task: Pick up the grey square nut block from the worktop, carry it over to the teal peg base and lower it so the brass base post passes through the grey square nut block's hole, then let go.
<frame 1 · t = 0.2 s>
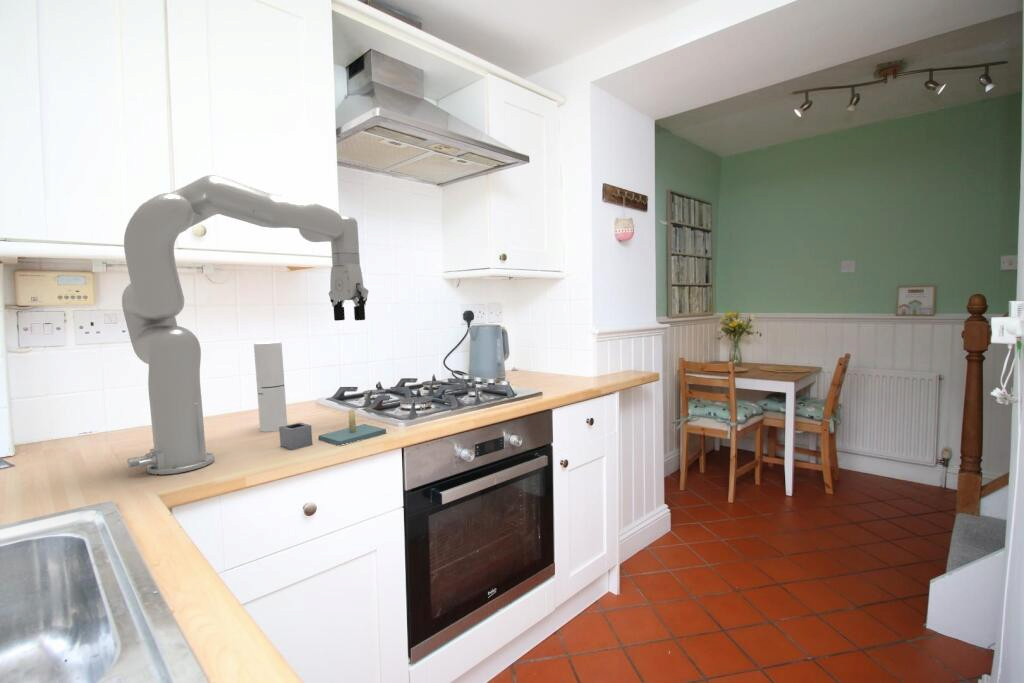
hand: (349, 320, 142), 31 cm above the countertop, tool pointing down, fingers open, 9 cm apart
grey square nut block: (296, 445, 123), on the countertop
grey piece: (274, 429, 142), on the countertop
teal peg base: (353, 436, 130), on the countertop
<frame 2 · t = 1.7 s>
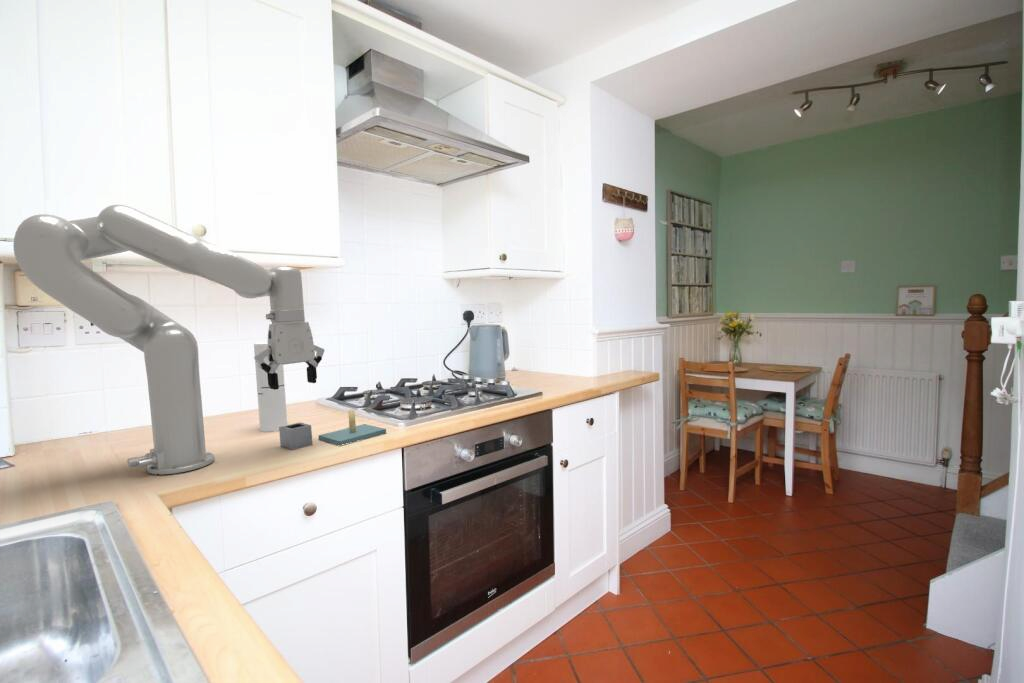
hand: (293, 385, 122), 15 cm above the countertop, tool pointing down, fingers open, 9 cm apart
nothing on the countertop moved.
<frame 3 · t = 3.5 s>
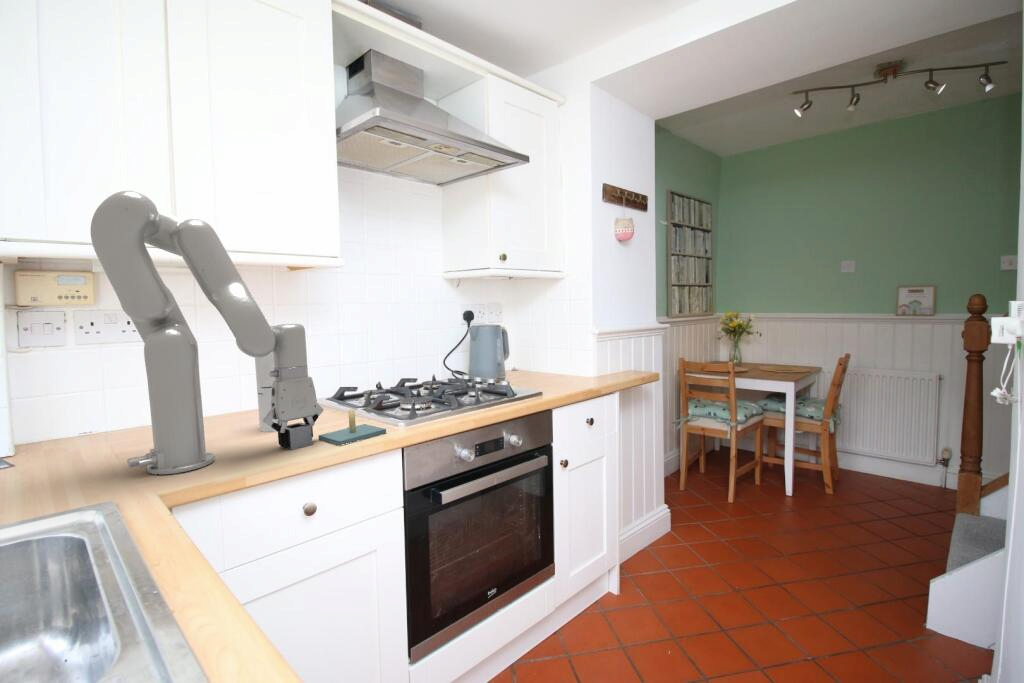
hand: (296, 443, 123), 1 cm above the countertop, tool pointing down, fingers closed on grey square nut block, 5 cm apart
grey square nut block: (296, 445, 123), on the countertop, touching gripper
everything else where it was.
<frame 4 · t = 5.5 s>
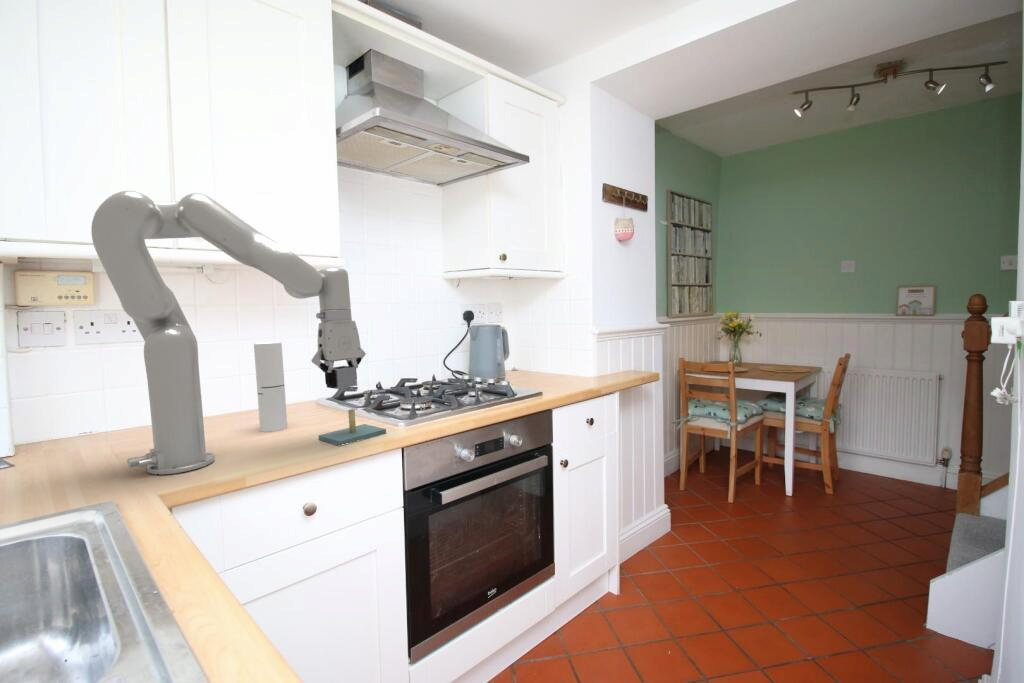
hand: (341, 384, 128), 14 cm above the countertop, tool pointing down, fingers closed on grey square nut block, 5 cm apart
grey square nut block: (342, 386, 128), point 14 cm above the countertop, touching gripper
everything else where it was.
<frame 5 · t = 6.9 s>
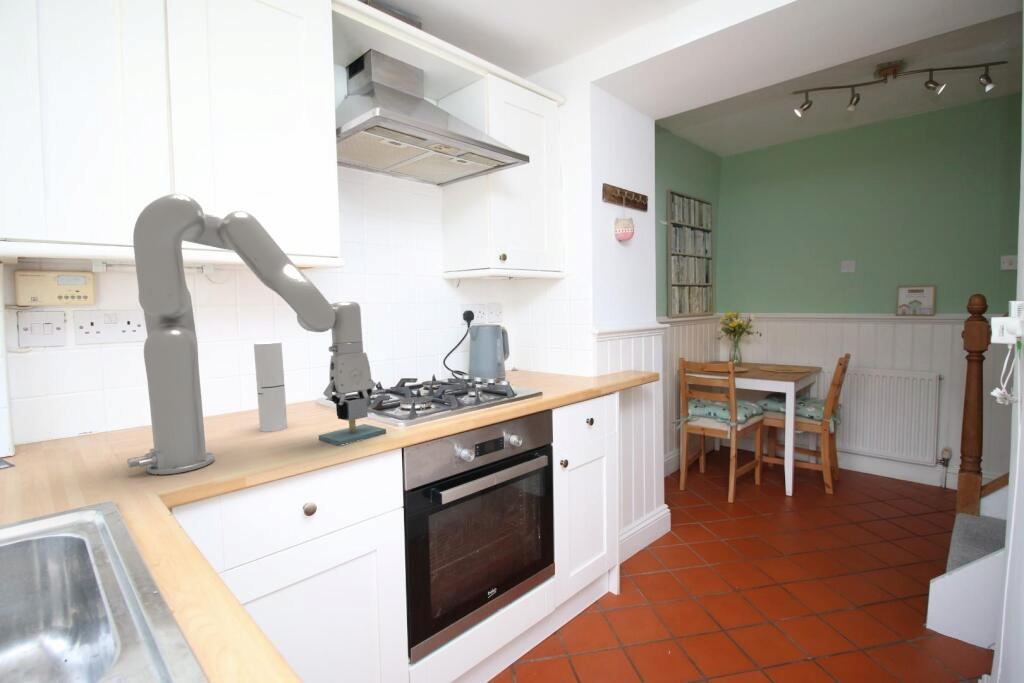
hand: (352, 415, 130), 6 cm above the countertop, tool pointing down, fingers closed on grey square nut block, 5 cm apart
grey square nut block: (352, 417, 130), point 5 cm above the countertop, touching gripper
everything else where it was.
when the fingers open (3 cm above the countertop, at t = 7.8 s): grey square nut block drops 1 cm, resting on teal peg base.
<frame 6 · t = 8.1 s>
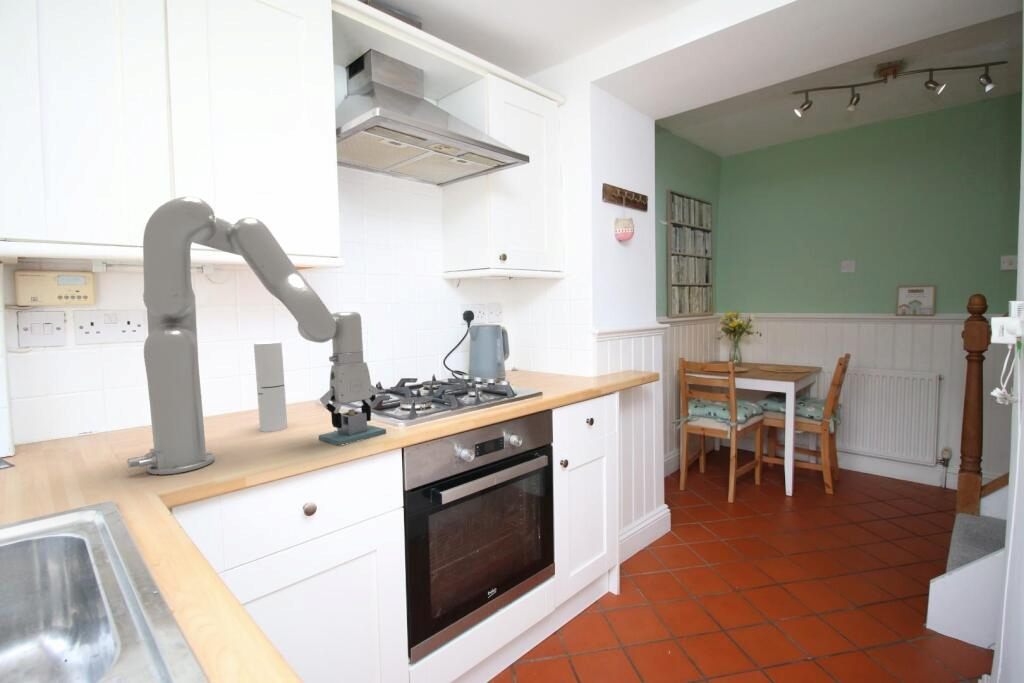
hand: (352, 423, 130), 4 cm above the countertop, tool pointing down, fingers open, 8 cm apart
grey square nut block: (352, 432, 130), point 1 cm above the countertop, touching teal peg base
everything else where it was.
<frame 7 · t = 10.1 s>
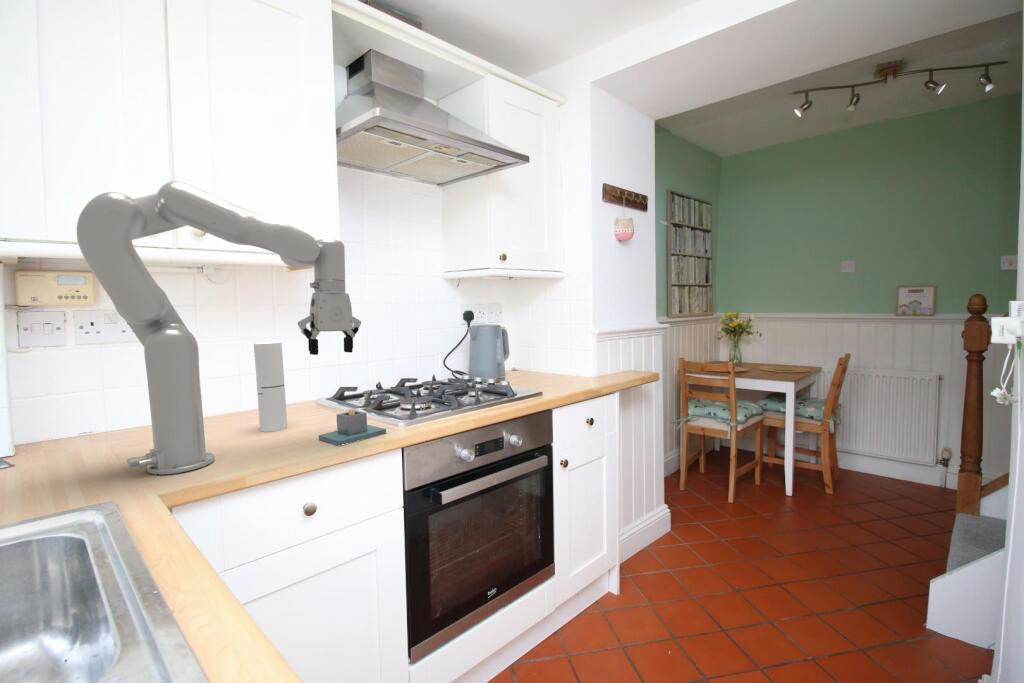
hand: (331, 353, 128), 23 cm above the countertop, tool pointing down, fingers open, 9 cm apart
nothing on the countertop moved.
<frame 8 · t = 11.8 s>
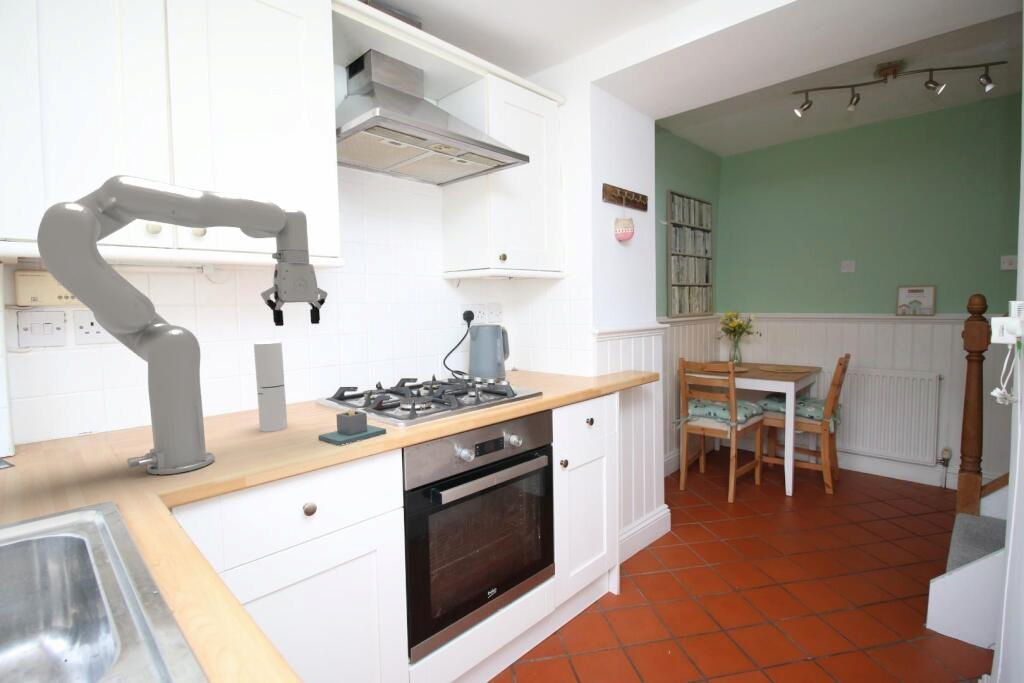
hand: (297, 324, 128), 30 cm above the countertop, tool pointing down, fingers open, 9 cm apart
nothing on the countertop moved.
at the end: grey square nut block 0.1 cm off-centre on the teal peg base, point 1.2 cm above the teal peg base's base; the gripper is holding nothing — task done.
